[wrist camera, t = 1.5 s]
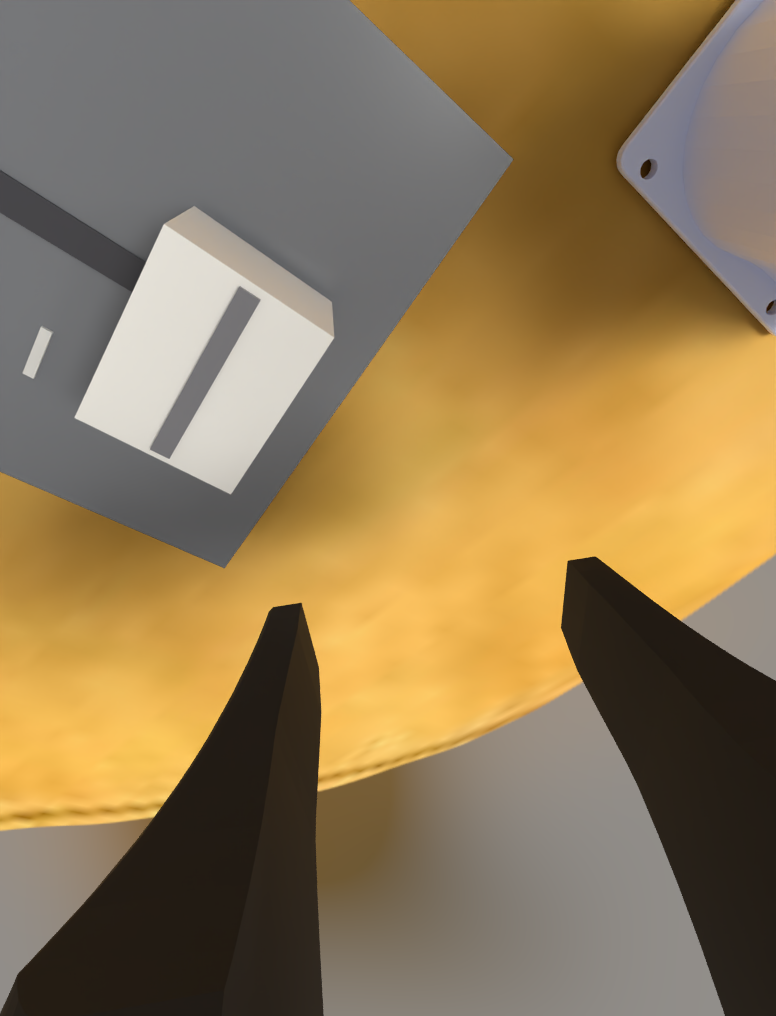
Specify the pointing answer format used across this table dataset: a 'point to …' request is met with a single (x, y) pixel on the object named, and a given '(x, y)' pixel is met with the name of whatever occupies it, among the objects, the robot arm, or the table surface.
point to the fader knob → (207, 352)
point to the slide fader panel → (222, 196)
